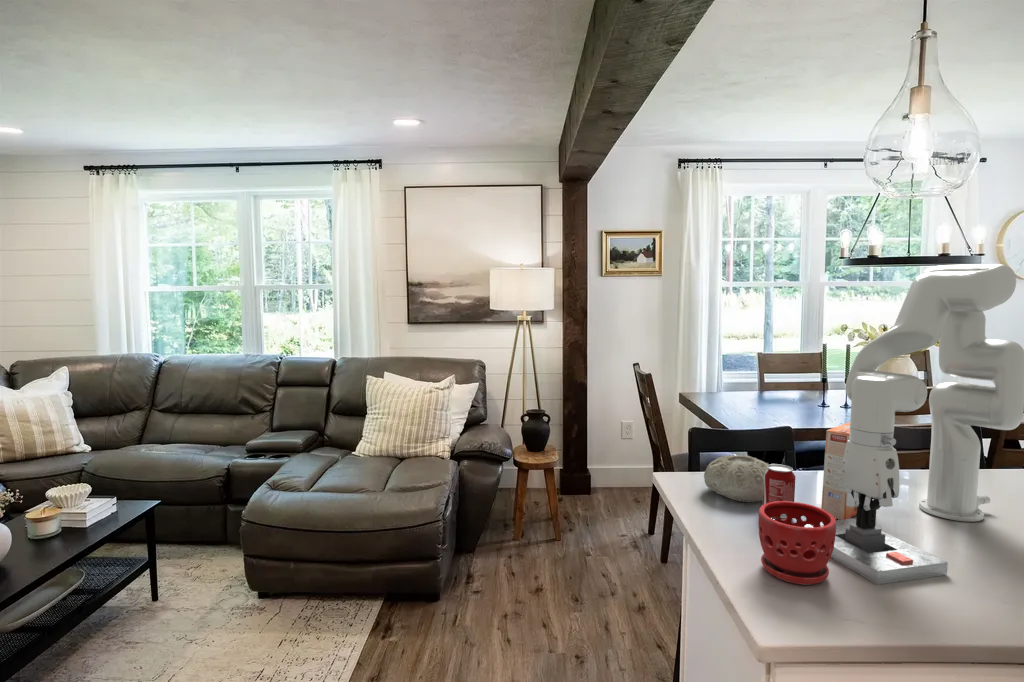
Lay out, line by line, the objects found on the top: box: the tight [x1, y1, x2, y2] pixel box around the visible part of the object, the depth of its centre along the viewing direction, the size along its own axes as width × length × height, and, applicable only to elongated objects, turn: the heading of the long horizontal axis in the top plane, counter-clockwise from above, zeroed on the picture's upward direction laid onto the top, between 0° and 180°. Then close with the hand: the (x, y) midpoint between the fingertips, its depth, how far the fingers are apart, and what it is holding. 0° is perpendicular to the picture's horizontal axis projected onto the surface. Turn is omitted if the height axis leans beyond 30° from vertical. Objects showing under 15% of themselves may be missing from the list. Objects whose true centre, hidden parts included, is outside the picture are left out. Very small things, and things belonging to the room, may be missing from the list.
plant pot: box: [757, 501, 837, 586], centre depth 111 cm, size 13×13×12 cm
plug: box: [845, 524, 885, 553], centre depth 120 cm, size 5×4×5 cm
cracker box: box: [820, 422, 857, 520], centre depth 142 cm, size 14×6×21 cm, turn 131°
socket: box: [804, 517, 949, 586], centre depth 120 cm, size 16×22×3 cm
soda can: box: [762, 463, 796, 520], centre depth 139 cm, size 7×7×12 cm
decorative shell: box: [703, 454, 769, 503], centre depth 154 cm, size 18×18×10 cm
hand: (865, 526), depth 120 cm, fingers closed
